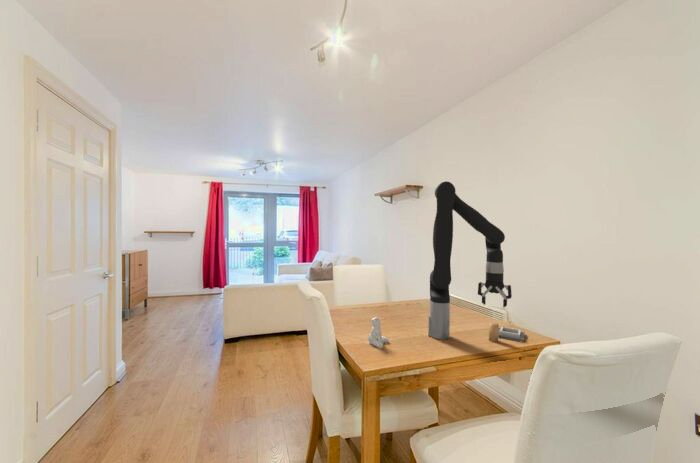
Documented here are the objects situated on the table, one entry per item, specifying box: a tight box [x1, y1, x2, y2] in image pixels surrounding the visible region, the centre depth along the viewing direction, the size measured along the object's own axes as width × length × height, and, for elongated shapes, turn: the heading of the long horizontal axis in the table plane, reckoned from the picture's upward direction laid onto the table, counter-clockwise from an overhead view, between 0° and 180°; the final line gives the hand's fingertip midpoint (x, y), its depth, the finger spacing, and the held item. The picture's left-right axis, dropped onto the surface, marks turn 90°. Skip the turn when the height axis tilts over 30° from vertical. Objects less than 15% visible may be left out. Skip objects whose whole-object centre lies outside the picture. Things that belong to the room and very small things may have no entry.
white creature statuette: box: [367, 316, 389, 349], centre depth 134 cm, size 10×9×12 cm
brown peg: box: [488, 322, 500, 343], centre depth 139 cm, size 4×4×8 cm
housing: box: [498, 326, 526, 343], centre depth 146 cm, size 12×12×3 cm
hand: (494, 305), depth 139 cm, fingers open, 8 cm apart
